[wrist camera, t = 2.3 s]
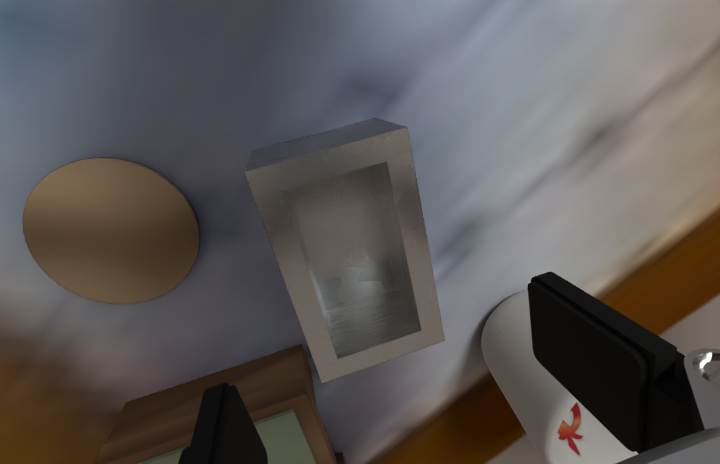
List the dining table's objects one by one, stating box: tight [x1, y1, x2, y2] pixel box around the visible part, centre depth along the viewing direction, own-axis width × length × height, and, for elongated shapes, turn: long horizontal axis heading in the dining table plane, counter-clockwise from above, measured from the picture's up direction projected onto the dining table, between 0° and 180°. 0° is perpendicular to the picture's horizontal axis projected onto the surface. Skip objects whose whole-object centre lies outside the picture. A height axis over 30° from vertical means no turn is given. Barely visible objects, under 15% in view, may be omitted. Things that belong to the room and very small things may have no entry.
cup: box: [481, 290, 638, 464], centre depth 21 cm, size 11×8×8 cm
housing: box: [245, 118, 445, 383], centre depth 17 cm, size 10×6×5 cm, turn 13°
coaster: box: [23, 158, 200, 304], centre depth 17 cm, size 7×7×1 cm
